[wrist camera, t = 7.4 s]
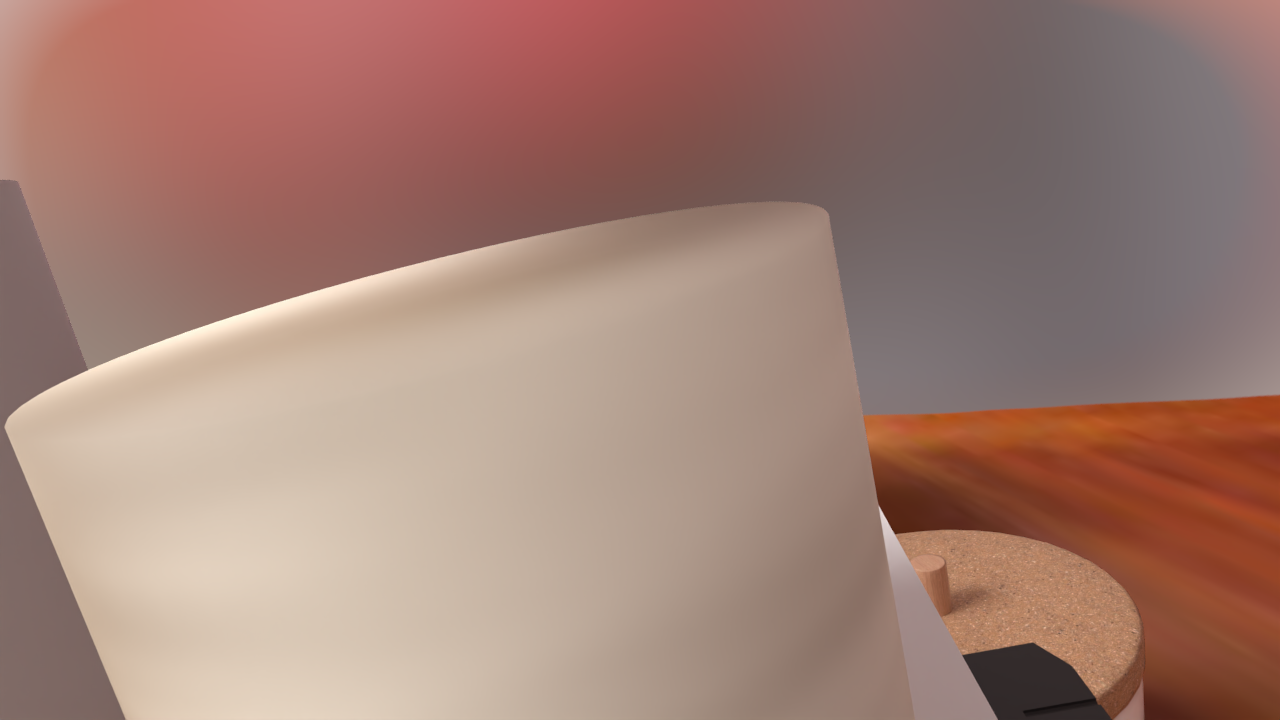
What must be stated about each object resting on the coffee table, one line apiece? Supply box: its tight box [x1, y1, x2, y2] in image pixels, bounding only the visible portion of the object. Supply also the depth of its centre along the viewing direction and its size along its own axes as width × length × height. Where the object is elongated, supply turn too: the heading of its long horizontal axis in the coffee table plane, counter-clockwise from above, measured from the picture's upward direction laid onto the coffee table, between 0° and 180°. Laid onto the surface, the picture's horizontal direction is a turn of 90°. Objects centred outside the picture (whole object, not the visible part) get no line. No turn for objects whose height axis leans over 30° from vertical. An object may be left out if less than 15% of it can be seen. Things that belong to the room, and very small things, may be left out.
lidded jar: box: [895, 530, 1145, 720], centre depth 28 cm, size 11×11×9 cm
